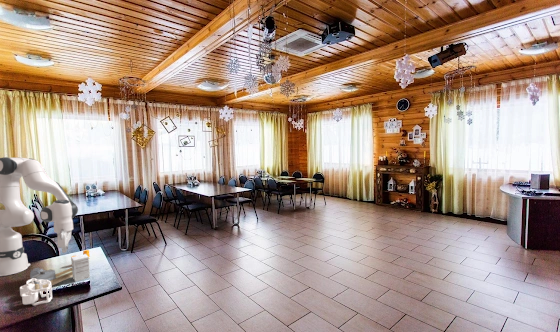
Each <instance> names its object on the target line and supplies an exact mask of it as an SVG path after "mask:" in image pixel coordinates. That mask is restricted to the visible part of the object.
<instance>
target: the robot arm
mask: <svg viewBox="0 0 560 332" xmlns="http://www.w3.org/2000/svg"><path fill="white" fill-rule="evenodd" d="M46 171H47V170H46V169H45V167H43V165H42V163H41V162H40V161H39V160H37V159H34V158H27V157H7V156H6V157H4V156H3V157H0V204H2V205H3V206H4V209H0V277H5V276H11V275H13V274H14V275H15V274H19V273H21V272H23V271H25V270H27V269H28V268H29V267H30V266H31V263H30V262H29V261H28V255H27V253H25V247H24V246H23V238H22V237H23V236H22V234H21V233H20V232H17V231H15V230H13V228H14V227H15V228H16V227H22V226H26V225H29V224H31V223H32V222H33V221H34V219H35V218H34V217H35V214H34V212H33V210H32V209H30V208H28V206H26V205H24V202H23V201H22V198H21V185H20V184H21V182H20V181H21V178H22V179H23V181H24V183H25V185H26V187H28V189H30V190H32V191H37V192H43V193H44V192H45V193H48V194H52V195H53V196H54V197H55V198H56V199H57V200H55V201H53V203H51V204H50V205H47V206H44V207H42V209H41V210H40V212H39V216H40V219H41V221H43V222H44V223H52V222H53V232H54V233H56V236H57V240H56V241H57V248H58V249H61V252H62V253H63V254H64V253H67V250H69V242H70V241H71V239H72V231H73V230H74V221H73V218H75V217H76V215H78V213H79V208H78V205H77V204H76V203H74V201H73V200H72V199H71V198H70V197H69V195H68V193H66V191H65V190H64V189H63V187H62V185H60V183H58V182H57V181H55V180H53V179H52V178H51V177H50V176H49V175H48V173H47V172H46Z"/></svg>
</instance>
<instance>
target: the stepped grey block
mask: <svg viewBox="0 0 560 332" xmlns="http://www.w3.org/2000/svg"><path fill="white" fill-rule="evenodd" d="M43 270H44V269H43V268H40V267H34V268H33V269H31V270H30V273H29V280H30V279H32V276H34V275H37V274H40V271H43ZM30 283H32V281H31V282H30Z"/></svg>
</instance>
